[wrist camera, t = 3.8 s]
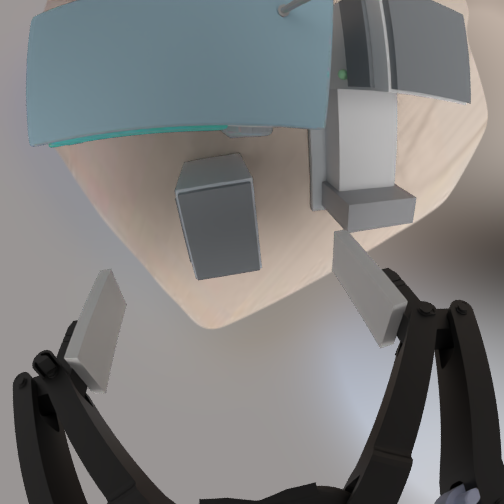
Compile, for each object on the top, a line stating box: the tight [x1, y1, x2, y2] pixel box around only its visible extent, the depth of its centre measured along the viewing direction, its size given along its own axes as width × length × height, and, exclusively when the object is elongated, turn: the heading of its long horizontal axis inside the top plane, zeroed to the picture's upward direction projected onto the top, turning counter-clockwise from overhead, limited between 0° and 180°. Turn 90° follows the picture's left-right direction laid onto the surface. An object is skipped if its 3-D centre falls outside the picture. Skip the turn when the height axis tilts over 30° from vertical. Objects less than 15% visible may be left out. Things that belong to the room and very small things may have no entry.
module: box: [175, 153, 262, 280], centre depth 23 cm, size 7×5×8 cm
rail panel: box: [308, 89, 397, 211], centre depth 22 cm, size 20×8×4 cm, turn 6°
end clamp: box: [322, 181, 416, 233], centre depth 25 cm, size 2×7×6 cm, turn 96°
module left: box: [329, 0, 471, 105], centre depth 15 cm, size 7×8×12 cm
